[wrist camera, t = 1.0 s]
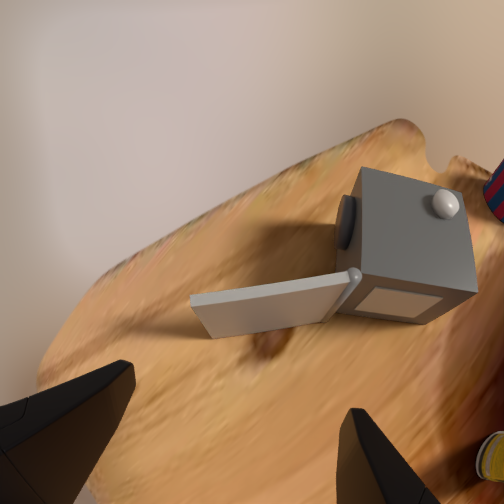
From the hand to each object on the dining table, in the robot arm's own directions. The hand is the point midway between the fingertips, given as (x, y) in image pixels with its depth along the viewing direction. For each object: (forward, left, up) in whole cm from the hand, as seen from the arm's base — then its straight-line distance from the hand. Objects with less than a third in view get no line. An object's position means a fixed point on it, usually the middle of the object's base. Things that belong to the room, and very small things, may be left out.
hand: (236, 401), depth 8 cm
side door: (+6, -1, -13) cm, 14 cm away
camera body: (+12, -9, -13) cm, 20 cm away
